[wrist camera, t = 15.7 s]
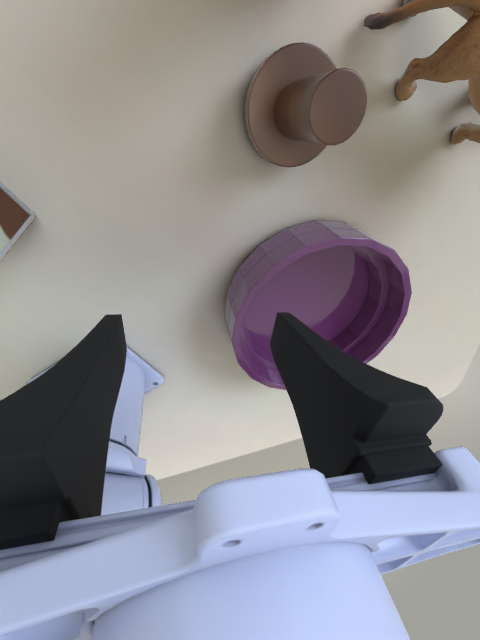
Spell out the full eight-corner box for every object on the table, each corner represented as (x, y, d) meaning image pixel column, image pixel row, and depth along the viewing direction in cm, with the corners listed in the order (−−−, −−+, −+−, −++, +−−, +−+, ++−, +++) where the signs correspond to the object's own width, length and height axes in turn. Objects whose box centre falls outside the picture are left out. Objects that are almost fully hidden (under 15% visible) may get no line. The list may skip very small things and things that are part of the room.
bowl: (267, 378, 32) (279, 410, 28) (190, 283, 23) (194, 313, 19) (389, 312, 30) (419, 339, 26) (358, 179, 21) (396, 191, 17)
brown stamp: (264, 179, 19) (302, 205, 14) (223, 89, 16) (251, 73, 10) (336, 131, 19) (408, 138, 13) (308, 26, 15) (389, -29, 10)
